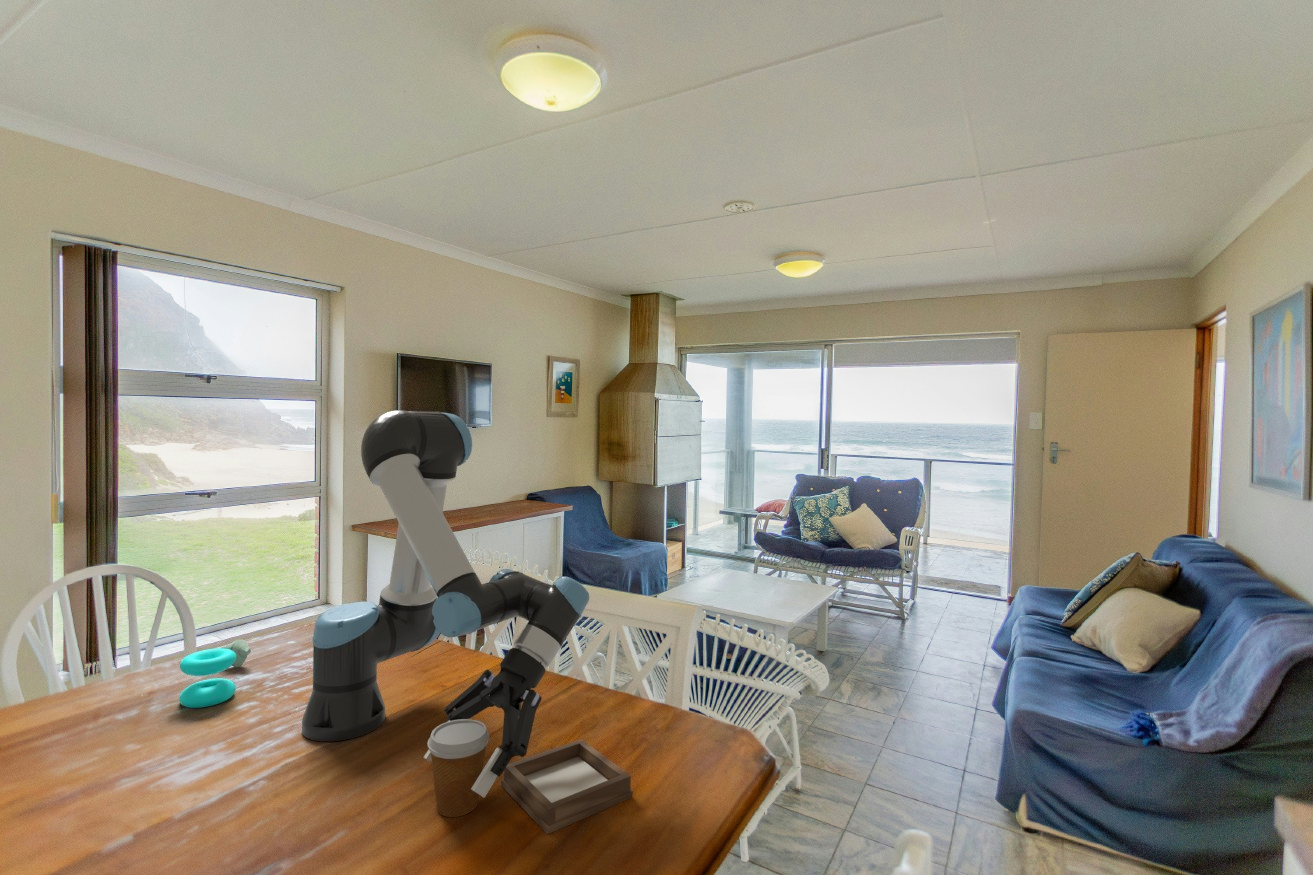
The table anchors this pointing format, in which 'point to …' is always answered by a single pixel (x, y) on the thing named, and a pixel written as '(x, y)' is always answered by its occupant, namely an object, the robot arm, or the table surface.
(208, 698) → the donuts
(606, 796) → the holder
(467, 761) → the disposable coffee cup
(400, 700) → the table surface
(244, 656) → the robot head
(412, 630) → the robot arm
